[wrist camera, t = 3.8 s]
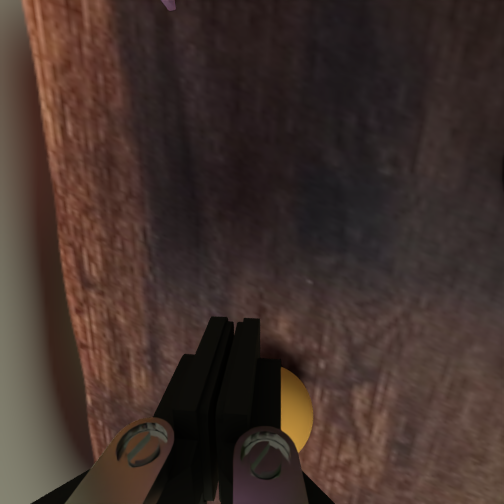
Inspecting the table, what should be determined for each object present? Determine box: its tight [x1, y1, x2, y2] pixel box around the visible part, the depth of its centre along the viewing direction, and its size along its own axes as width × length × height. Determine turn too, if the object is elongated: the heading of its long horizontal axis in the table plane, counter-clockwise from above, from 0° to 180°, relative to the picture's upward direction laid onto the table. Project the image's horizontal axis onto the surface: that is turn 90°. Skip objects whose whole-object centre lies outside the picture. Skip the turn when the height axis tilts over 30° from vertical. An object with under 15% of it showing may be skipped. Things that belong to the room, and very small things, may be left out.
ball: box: [281, 367, 313, 453], centre depth 19 cm, size 6×6×6 cm
